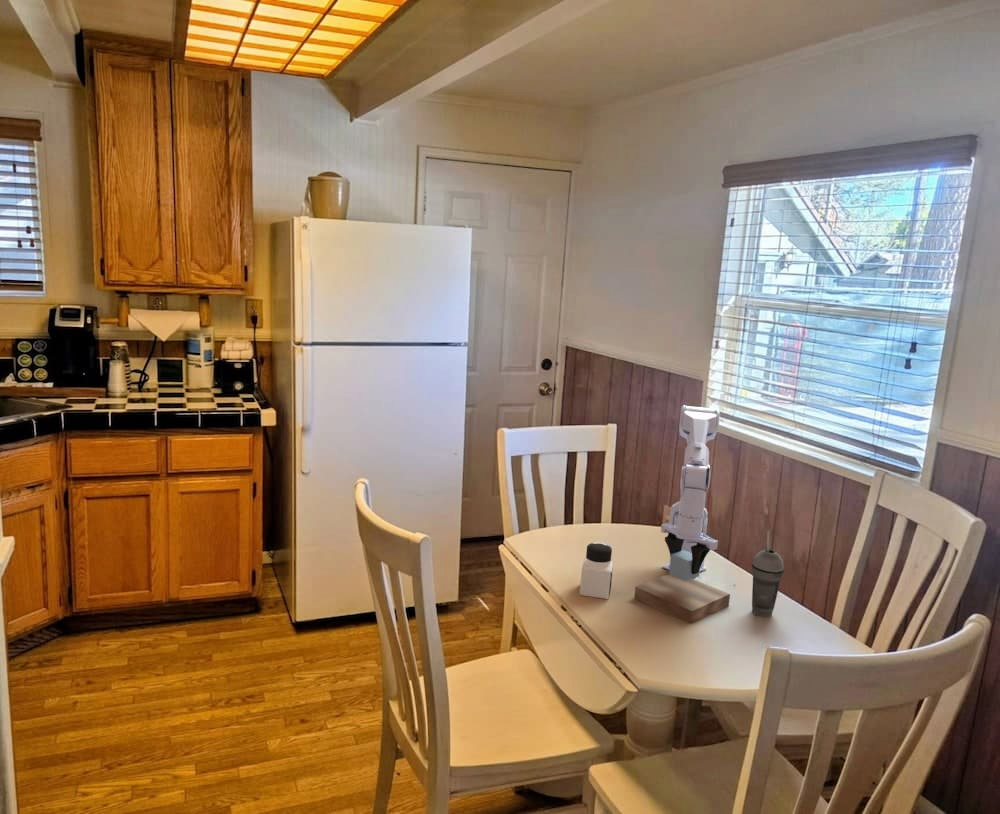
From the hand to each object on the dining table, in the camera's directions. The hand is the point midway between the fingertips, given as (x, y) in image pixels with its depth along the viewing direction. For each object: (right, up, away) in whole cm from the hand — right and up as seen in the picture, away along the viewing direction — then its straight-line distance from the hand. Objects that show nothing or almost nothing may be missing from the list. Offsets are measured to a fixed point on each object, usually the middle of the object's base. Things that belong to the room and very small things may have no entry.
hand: (685, 569), depth 182 cm
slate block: (0, -2, 0) cm, 2 cm away
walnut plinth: (-1, -8, +2) cm, 8 cm away
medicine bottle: (-21, -7, +4) cm, 22 cm away
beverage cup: (+18, -10, -2) cm, 20 cm away
